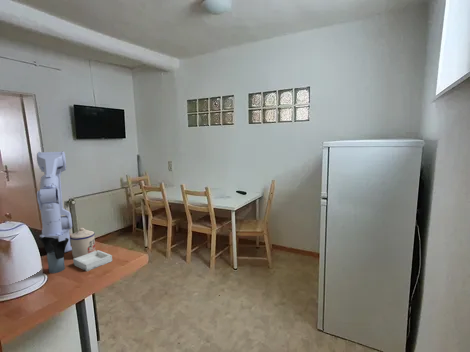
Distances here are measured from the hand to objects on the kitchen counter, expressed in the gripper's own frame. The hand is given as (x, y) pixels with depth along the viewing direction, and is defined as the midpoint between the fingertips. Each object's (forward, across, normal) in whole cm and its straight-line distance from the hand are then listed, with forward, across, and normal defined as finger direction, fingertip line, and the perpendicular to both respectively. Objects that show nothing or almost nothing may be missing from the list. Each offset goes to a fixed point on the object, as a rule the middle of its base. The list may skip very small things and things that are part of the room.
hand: (55, 256), depth 99 cm
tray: (+6, +6, +11) cm, 13 cm away
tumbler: (+6, 0, 0) cm, 6 cm away
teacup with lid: (+6, -7, +14) cm, 17 cm away
